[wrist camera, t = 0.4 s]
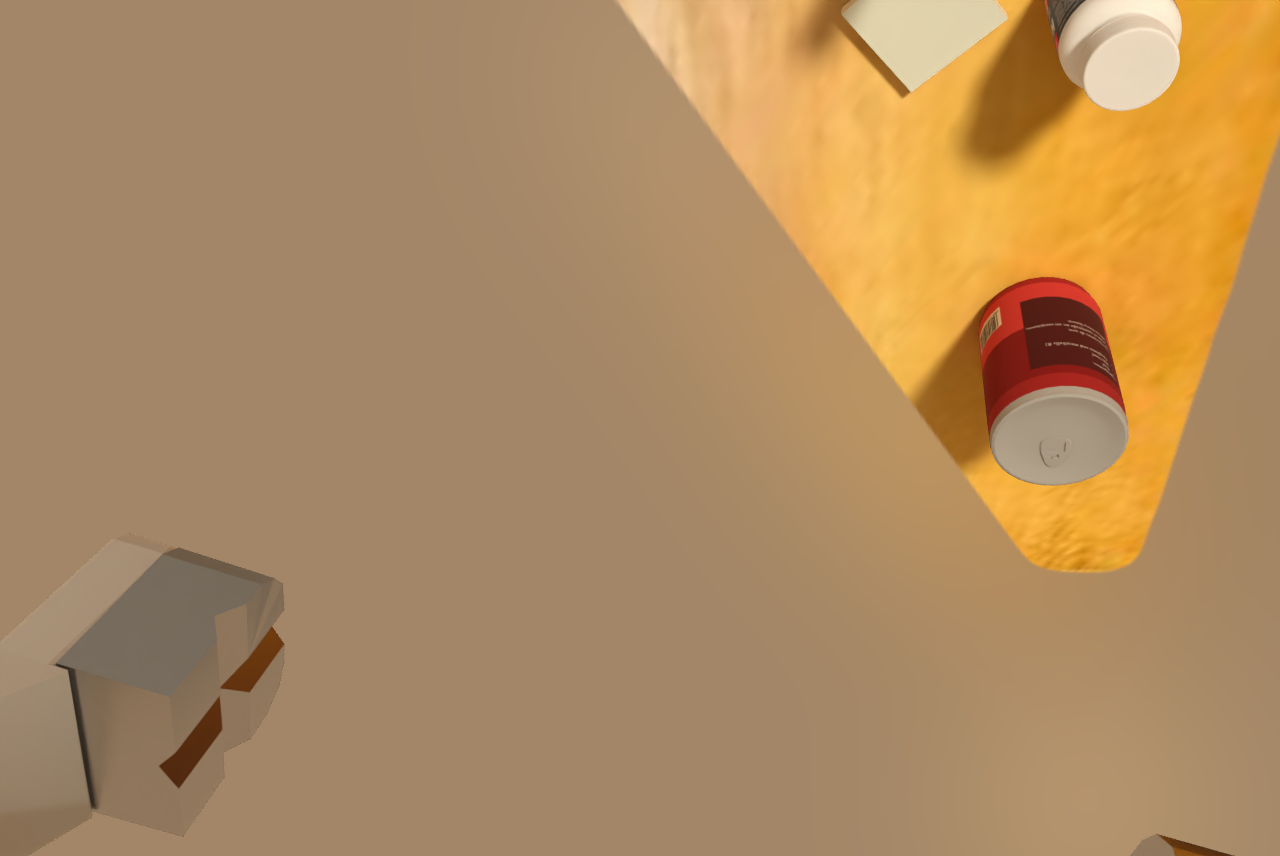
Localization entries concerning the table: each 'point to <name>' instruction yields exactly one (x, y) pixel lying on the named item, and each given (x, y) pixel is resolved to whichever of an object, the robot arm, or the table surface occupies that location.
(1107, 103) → the pill bottle
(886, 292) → the table surface
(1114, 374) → the canned food
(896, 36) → the pad
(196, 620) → the robot arm
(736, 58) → the table surface
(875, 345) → the table surface
